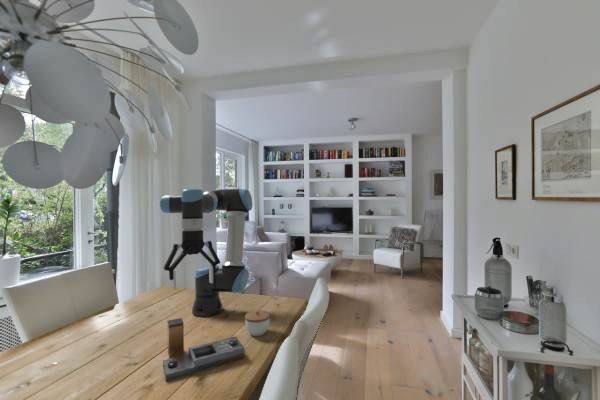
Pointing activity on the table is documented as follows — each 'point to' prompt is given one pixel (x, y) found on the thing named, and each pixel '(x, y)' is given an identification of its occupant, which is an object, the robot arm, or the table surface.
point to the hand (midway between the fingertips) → (193, 285)
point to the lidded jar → (257, 322)
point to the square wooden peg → (175, 337)
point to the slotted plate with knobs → (204, 358)
